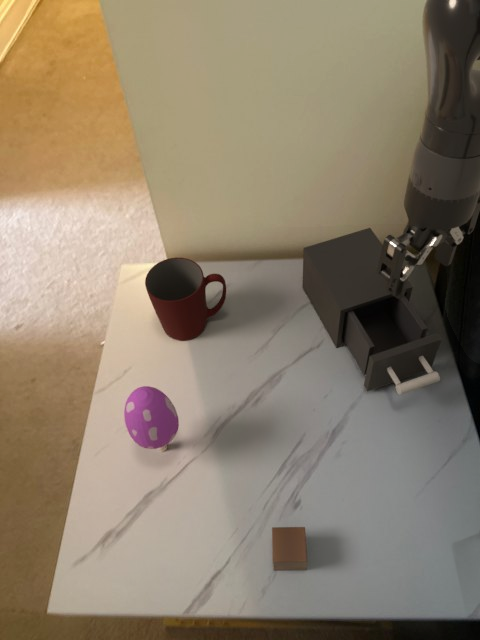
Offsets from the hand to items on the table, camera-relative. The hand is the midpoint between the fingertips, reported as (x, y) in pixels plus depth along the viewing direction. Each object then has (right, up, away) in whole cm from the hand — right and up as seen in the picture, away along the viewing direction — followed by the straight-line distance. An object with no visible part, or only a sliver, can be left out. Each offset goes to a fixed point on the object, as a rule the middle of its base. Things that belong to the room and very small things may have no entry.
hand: (419, 277), depth 72 cm
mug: (-31, -6, +22) cm, 38 cm away
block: (-17, -35, -2) cm, 39 cm away
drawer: (-1, -11, +13) cm, 18 cm away
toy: (-34, -24, +8) cm, 42 cm away
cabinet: (-5, -3, +21) cm, 22 cm away
